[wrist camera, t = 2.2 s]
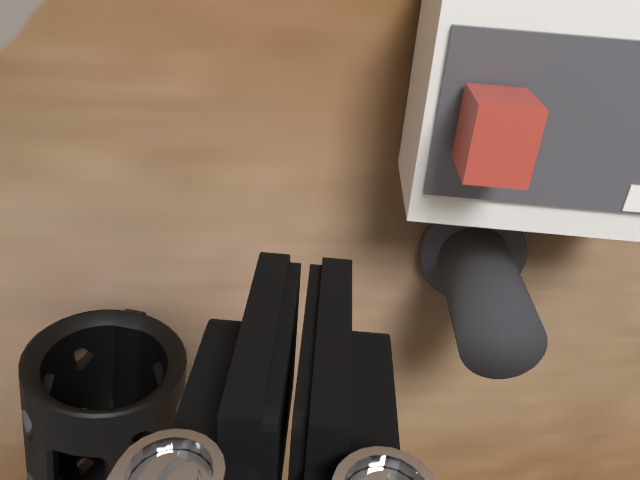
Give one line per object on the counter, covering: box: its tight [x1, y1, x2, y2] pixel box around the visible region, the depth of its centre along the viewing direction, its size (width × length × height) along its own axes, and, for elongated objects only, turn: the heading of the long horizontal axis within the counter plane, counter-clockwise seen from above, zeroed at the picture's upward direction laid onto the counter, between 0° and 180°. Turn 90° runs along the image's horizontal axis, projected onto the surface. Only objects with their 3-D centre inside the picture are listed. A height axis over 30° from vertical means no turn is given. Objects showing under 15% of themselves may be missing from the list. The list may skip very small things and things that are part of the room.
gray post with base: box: [420, 223, 547, 379], centre depth 31 cm, size 6×6×9 cm
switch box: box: [398, 0, 640, 242], centre depth 27 cm, size 12×10×7 cm
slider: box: [452, 82, 549, 190], centre depth 22 cm, size 2×3×3 cm
